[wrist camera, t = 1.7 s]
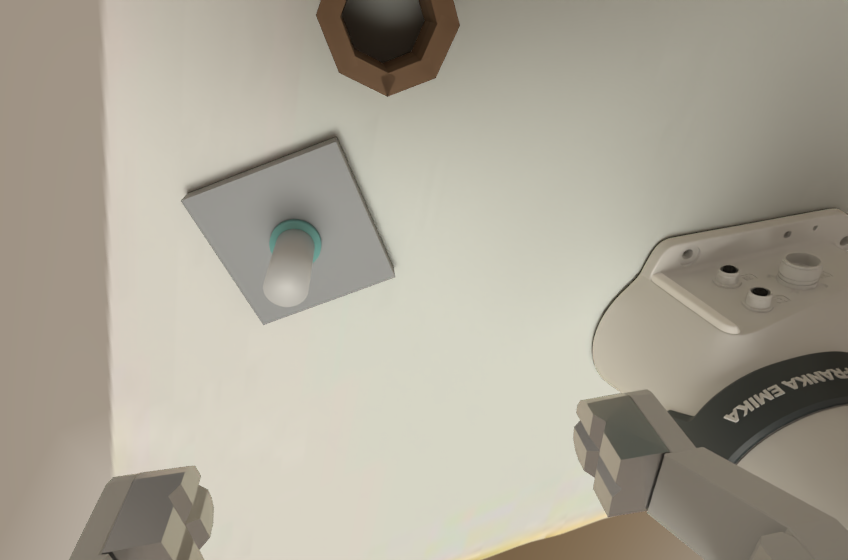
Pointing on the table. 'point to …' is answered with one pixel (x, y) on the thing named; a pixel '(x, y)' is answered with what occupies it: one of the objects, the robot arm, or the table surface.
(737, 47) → the table surface
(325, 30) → the ring
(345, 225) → the shaft stand
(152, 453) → the table surface
